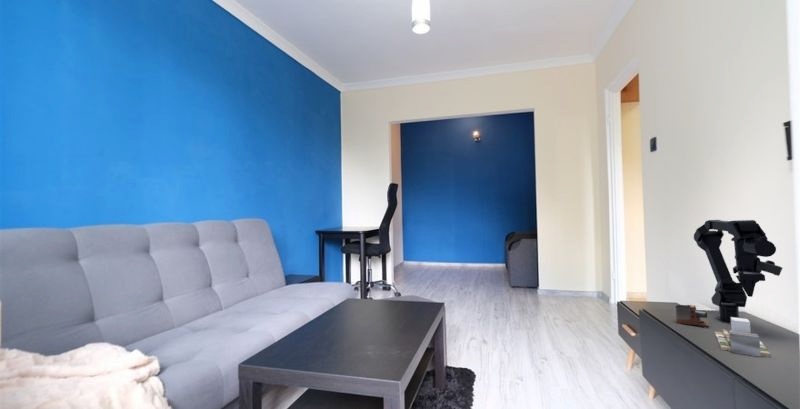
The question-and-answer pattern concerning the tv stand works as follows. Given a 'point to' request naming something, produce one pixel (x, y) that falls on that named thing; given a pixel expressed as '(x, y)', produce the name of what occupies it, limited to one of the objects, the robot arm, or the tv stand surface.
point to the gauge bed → (742, 343)
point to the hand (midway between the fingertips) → (750, 296)
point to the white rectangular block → (739, 325)
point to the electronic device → (690, 315)
